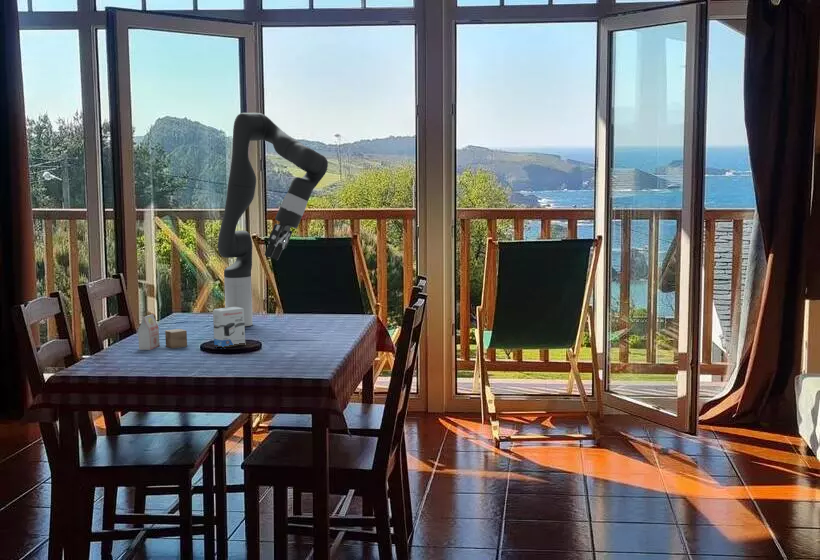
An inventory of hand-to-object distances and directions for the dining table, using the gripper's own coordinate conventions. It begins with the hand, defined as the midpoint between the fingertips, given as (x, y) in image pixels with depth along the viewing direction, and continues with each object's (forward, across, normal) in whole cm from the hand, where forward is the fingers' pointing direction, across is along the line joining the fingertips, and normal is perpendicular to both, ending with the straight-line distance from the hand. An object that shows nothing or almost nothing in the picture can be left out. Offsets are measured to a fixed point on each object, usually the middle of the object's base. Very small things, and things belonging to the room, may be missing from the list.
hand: (271, 257), depth 302 cm
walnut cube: (+37, +4, -15) cm, 40 cm away
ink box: (+30, +4, 0) cm, 31 cm away
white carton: (+40, +7, -22) cm, 47 cm away
